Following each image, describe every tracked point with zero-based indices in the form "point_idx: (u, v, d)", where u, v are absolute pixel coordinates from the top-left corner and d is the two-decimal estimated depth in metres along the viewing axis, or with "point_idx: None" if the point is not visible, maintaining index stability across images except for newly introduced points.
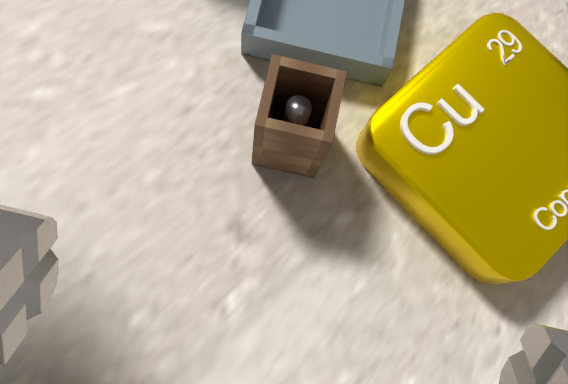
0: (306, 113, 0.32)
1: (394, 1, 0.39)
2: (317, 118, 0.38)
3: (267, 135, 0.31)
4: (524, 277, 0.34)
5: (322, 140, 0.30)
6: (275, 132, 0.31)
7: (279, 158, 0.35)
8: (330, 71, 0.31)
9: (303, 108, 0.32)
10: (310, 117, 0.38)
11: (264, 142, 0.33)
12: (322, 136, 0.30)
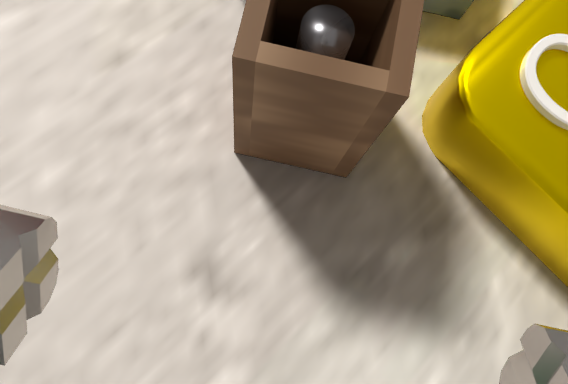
0: (344, 41, 0.15)
1: None
2: None
3: (262, 86, 0.15)
4: None
5: (385, 91, 0.13)
6: (280, 77, 0.14)
7: (285, 140, 0.18)
8: None
9: (337, 31, 0.15)
10: None
11: (256, 104, 0.16)
12: (385, 82, 0.13)
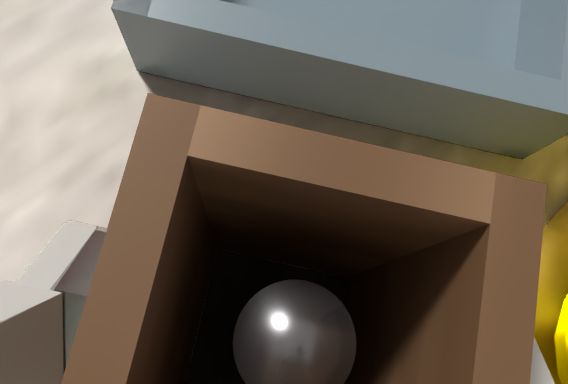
0: (331, 374, 0.07)
1: None
2: (354, 272, 0.12)
3: None
4: None
5: None
6: None
7: None
8: (463, 185, 0.06)
9: (317, 347, 0.07)
10: (332, 268, 0.12)
11: None
12: None
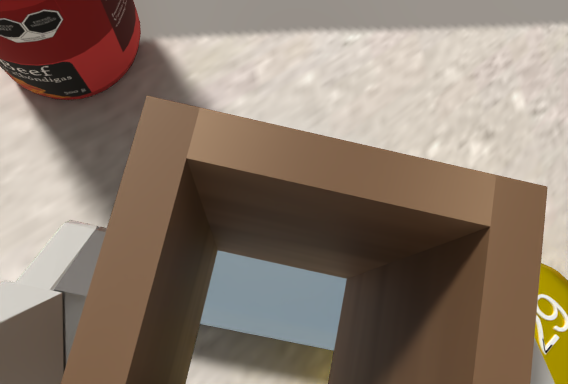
0: None
1: None
2: (354, 273, 0.12)
3: None
4: None
5: None
6: None
7: None
8: (462, 188, 0.06)
9: None
10: (332, 269, 0.12)
11: None
12: None
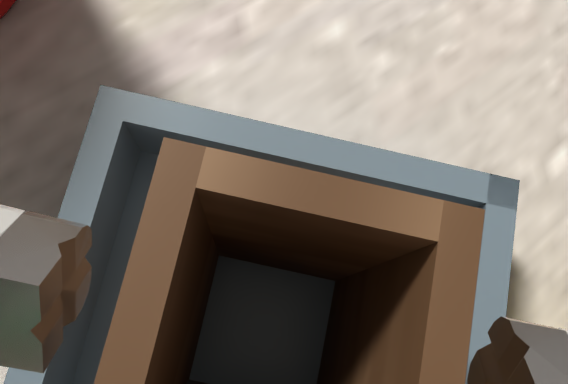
0: None
1: (470, 357, 0.12)
2: (341, 276, 0.14)
3: None
4: None
5: None
6: None
7: None
8: (416, 211, 0.07)
9: None
10: (321, 273, 0.14)
11: None
12: None
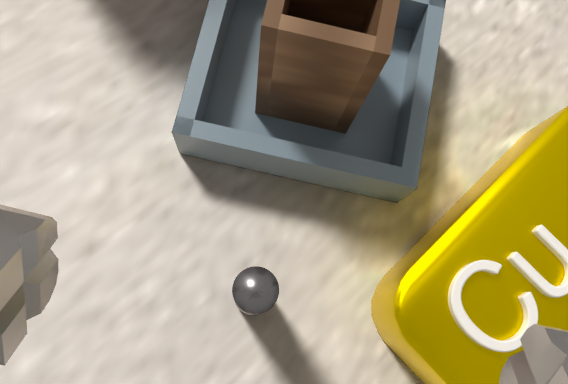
0: (269, 301, 0.18)
1: (418, 75, 0.24)
2: None
3: (281, 49, 0.19)
4: None
5: (372, 51, 0.18)
6: (295, 41, 0.19)
7: (297, 99, 0.23)
8: None
9: (264, 291, 0.18)
10: None
11: (276, 66, 0.21)
12: (373, 45, 0.18)
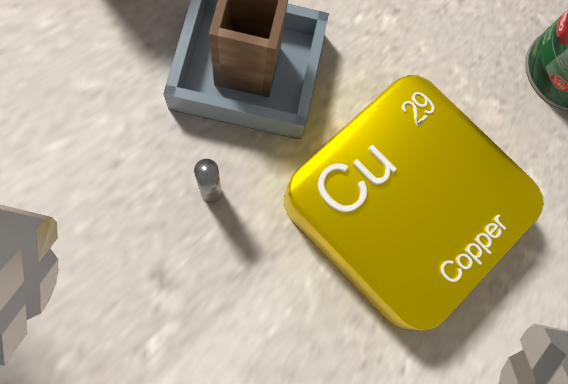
0: (213, 176, 0.35)
1: (309, 61, 0.41)
2: None
3: (221, 46, 0.36)
4: (430, 326, 0.36)
5: (267, 47, 0.35)
6: (227, 42, 0.36)
7: (236, 75, 0.40)
8: None
9: (210, 171, 0.35)
10: None
11: (220, 55, 0.38)
12: (267, 43, 0.35)
